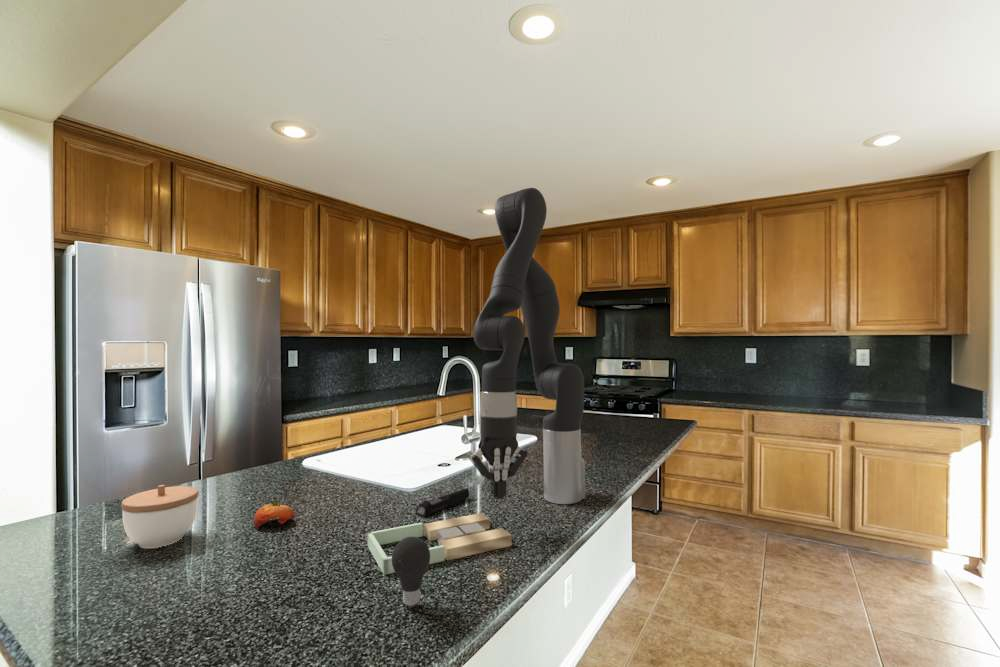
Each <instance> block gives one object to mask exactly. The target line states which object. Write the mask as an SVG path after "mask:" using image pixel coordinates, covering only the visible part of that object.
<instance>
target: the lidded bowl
mask: <svg viewBox="0 0 1000 667" xmlns="http://www.w3.org/2000/svg"><path fill="white" fill-rule="evenodd" d="M199 494H200V493H199V489H198V488H196V487H195V486H194V487H193V486H189V485H188V486H187V485H176V486H174V485H173V486H166V484H161V485H157V488H154V489H149V490H145V491H141V492H137V493H135V494H132V495H130V496H128V497H126V498H124V499H123V500H122V501H121V510H122V511H121V512H122V523H123V528H124V531H125V534H126V535H127V537H128V538H129V539H130V540H131V541H132V542H133V543H135V544H136V545H138V546H139V547H140V548H141V549H145V550H146V549H148V550H149V549H150V550H151V549H159V547H160V548H163V547H162V546H164V547H167V545H168V546H171V545H173V543H174V544H176V543H178V542H180V541H181V540H183V538H184V536H185V535H186V534H187V533H188V532H189V531H190V530H191V527H193V524H194V523H195V520H196V517H197V513H198V503H199V501H198V500H199ZM182 537H183V538H182ZM180 539H181V540H180ZM179 540H180V541H179ZM177 541H178V542H177ZM175 542H176V543H175ZM170 544H171V545H170Z"/></svg>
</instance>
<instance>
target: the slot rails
mask: <svg viewBox="0 0 1000 667" xmlns="http://www.w3.org/2000/svg"><path fill="white" fill-rule="evenodd" d="M490 520H491V519H490V517H488V516H486V515H485V514H484V513H482V512H479V513H474V514H470V515H469V514H468V515H465V516H464V515H463V516H459V517H454V518H449V519H443V520H438V521H433V522H428V523H422V524H423V536H425V538H426V539H427V540H428V541H430V542H433V541H437V530H442V529H447V528H453V527H457V528H458V529H459V526H462V525H467V524H473V523H478V524H479V525H480V526H482V527H483V528H484V529H485V532H480V533H475V534H471V535H466V536H461V537H457V538H452V539H447V540H443V541H440V545H443V546H444V557H445V559H446V560H447V561H452V560H455V559H460V558H464V557H468V556H472V555H473V556H474V555H477V554H482V553H485V552H490V551H494V550H499V549H503V548H507V547H512V540H513V539H512V534H511V533H510V532H508V531H507V530H505V529H504V528H502V527H500V528H495V529H490V527H491V524H490ZM440 545H439V546H440Z"/></svg>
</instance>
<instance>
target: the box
mask: <svg viewBox="0 0 1000 667" xmlns="http://www.w3.org/2000/svg"><path fill="white" fill-rule="evenodd" d="M423 524H424V523H423V522H417V523H411V524H406V525H401V526H396V527H391V528H385V529H380V530H375V531H370V532H366V538H367V539H366V540H367V541H366V544H367V545H366V546H367V548H368V550H369V551H370V553H371V555H372V556H373V558H374V560H375V562H376V563H377V565H378V567H379V569H380V570H381V572H382V574H383V576H385V575H390V574H393V573H395V571H394V568H393V566H392V555H391V556H387V554H386V552H385V551H384V550H383V548H382V545H387V544H391V543H392V544H393V543H397V542H400V541H401V540H402V539H404V538H407V537H418V538H420V537H423V536H424V527H423ZM428 548H429V551H430V562H429V565H432V564H433V565H434V564H435V563H441V562H444V561H445V559H446V558H445V557H444V546H443V545H436V546H433V547H428Z"/></svg>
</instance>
